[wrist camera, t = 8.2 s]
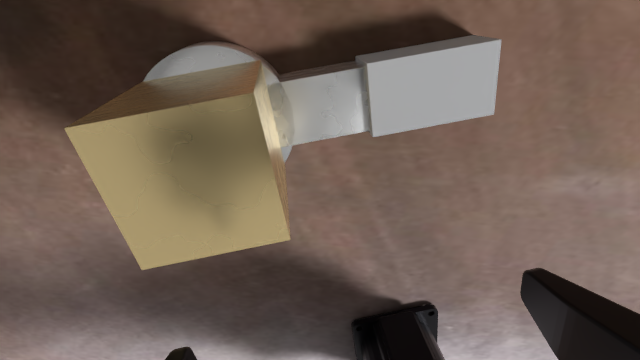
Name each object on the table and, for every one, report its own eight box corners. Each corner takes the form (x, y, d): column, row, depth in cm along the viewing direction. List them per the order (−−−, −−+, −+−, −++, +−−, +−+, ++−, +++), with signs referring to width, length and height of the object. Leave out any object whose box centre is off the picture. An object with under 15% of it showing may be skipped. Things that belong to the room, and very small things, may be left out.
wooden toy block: (284, 164, 17) (290, 239, 11) (184, 184, 16) (141, 270, 11) (260, 60, 14) (253, 92, 9) (142, 81, 14) (64, 128, 9)
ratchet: (178, 187, 19) (145, 251, 14) (125, 55, 15) (57, 79, 10) (466, 132, 19) (531, 175, 14) (475, -6, 16) (563, -11, 11)
